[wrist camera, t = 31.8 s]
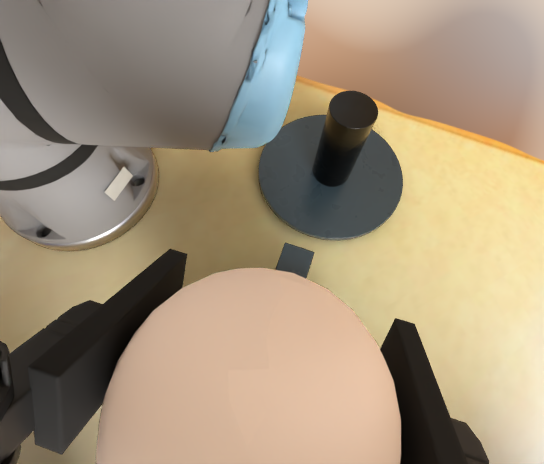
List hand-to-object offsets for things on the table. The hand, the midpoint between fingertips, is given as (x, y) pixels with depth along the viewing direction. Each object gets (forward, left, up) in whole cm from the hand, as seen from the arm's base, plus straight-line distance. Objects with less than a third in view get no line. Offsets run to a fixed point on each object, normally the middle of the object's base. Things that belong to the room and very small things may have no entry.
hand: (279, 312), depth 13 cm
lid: (-10, +15, -16) cm, 24 cm away
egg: (+2, -3, -4) cm, 5 cm away
